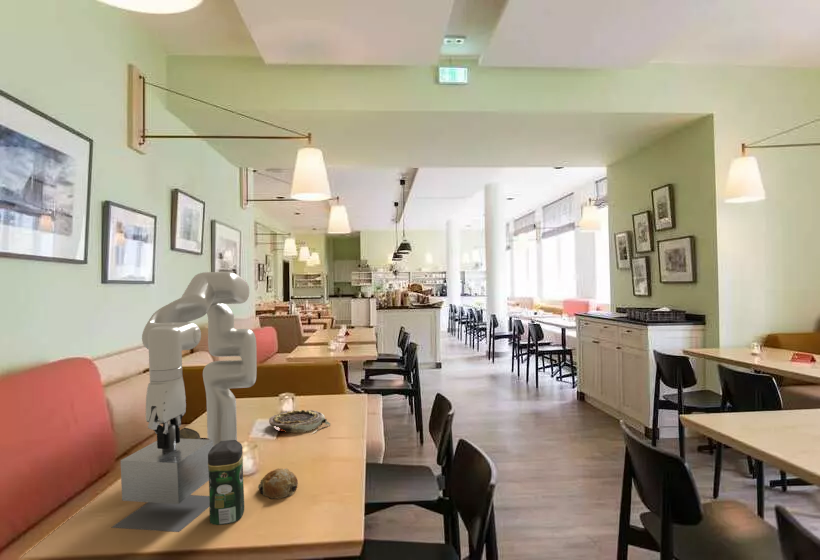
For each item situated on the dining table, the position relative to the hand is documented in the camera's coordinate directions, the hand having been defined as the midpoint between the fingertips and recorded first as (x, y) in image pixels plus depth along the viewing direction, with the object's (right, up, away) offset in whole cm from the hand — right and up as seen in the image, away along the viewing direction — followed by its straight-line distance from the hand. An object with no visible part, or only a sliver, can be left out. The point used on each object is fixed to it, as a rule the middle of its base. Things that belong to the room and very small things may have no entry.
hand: (168, 444), depth 122 cm
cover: (0, -11, 0) cm, 11 cm away
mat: (0, -17, -1) cm, 17 cm away
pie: (+16, -18, +71) cm, 75 cm away
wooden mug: (-2, -18, +19) cm, 26 cm away
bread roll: (+25, -17, +11) cm, 32 cm away
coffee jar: (+16, -17, -3) cm, 24 cm away
